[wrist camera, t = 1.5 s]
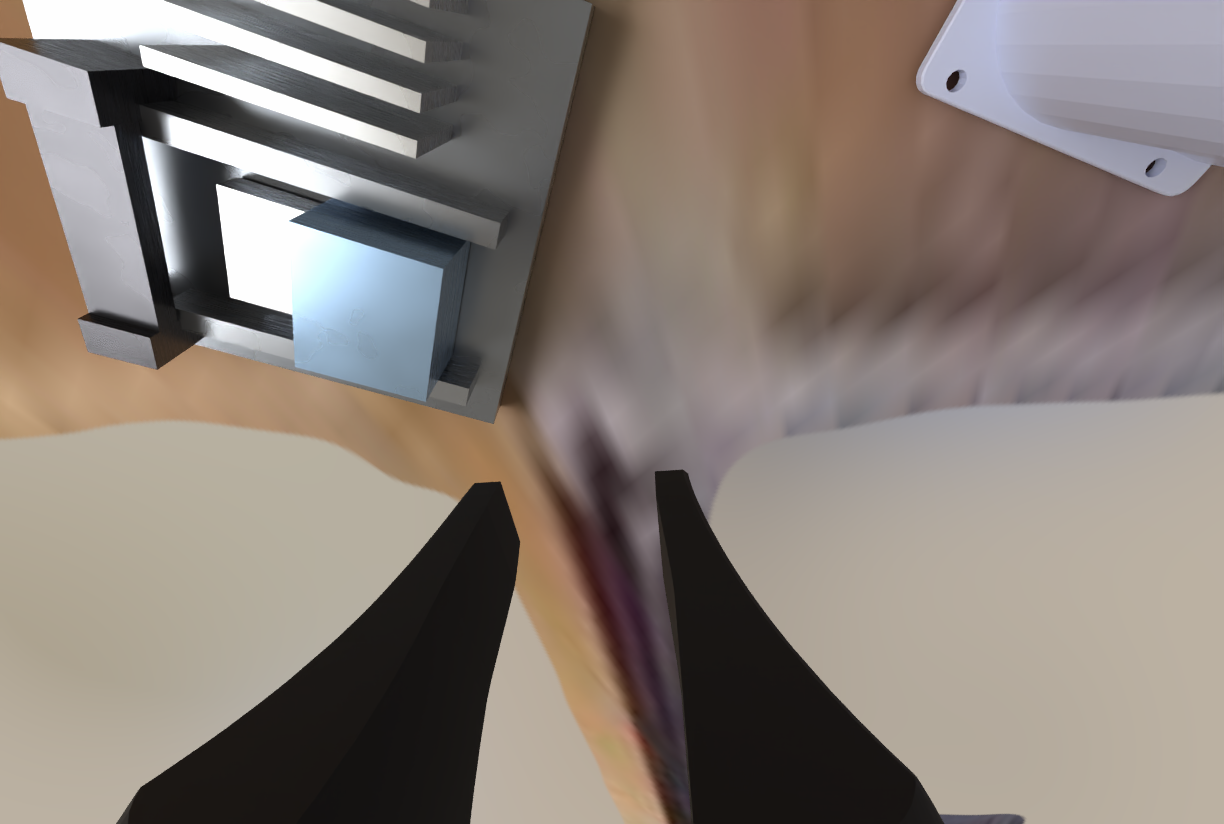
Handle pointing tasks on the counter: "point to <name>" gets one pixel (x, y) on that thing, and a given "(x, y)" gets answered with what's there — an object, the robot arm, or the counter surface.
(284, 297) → the blue-grey rectangular block
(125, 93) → the heatsink base
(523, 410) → the counter surface
